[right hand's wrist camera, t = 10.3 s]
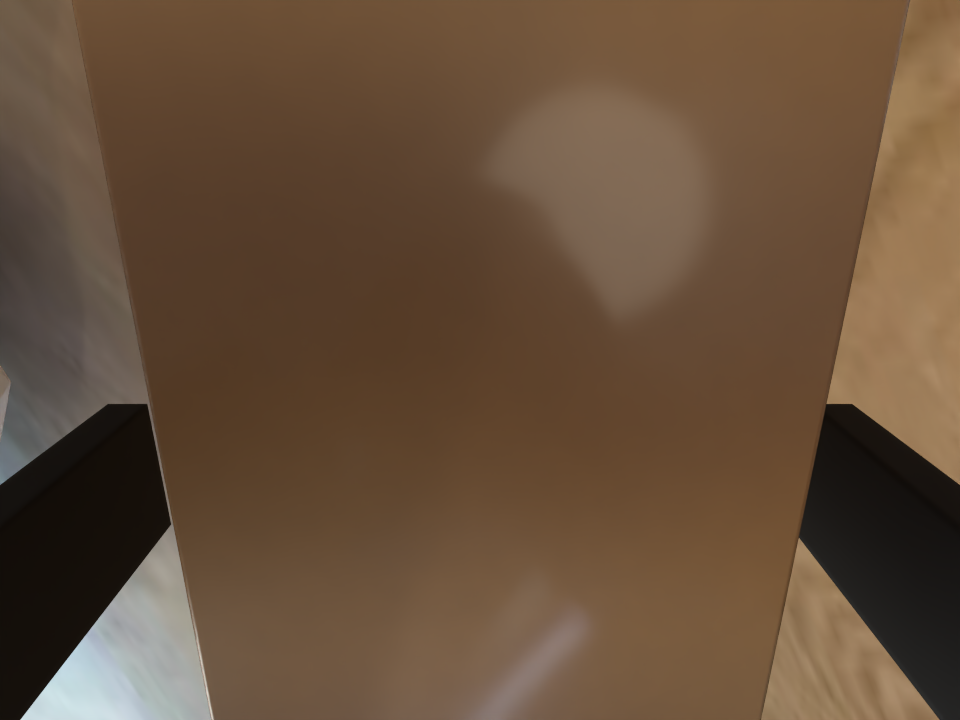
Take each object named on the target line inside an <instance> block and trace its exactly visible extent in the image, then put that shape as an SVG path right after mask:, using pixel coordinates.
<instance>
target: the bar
mask: <svg viewBox="0 0 960 720" xmlns="http://www.w3.org/2000/svg"><path fill="white" fill-rule="evenodd" d="M909 2H910V0H72V4H73V9H74V14H75V19H76V24H77V29H78V35H79V40H80V45H81V50H82V55H83V60H84V66H85V71H86V76H87V81H88V86H89V91H90V96H91V102H92V107H93V112H94V117H95V122H96V127H97V133H98V138H99V143H100V148H101V153H102V158H103V164H104V169H105V174H106V179H107V184H108V189H109V195H110V200H111V205H112V210H113V215H114V220H115V225H116V231H117V236H118V241H119V246H120V251H121V256H122V262H123V267H124V272H125V277H126V282H127V287H128V293H129V298H130V303H131V308H132V313H133V318H134V324H135V329H136V334H137V339H138V344H139V349H140V354H141V360H142V365H143V370H144V375H145V380H146V385H147V391H148V396H149V401H150V406H151V411H152V416H153V422H154V427H155V432H156V437H157V442H158V447H159V453H160V458H161V463H162V468H163V473H164V478H165V483H166V489H167V494H168V499H169V504H170V509H171V514H172V520H173V525H174V530H175V535H176V540H177V545H178V551H179V556H180V561H181V566H182V571H183V576H184V582H185V587H186V592H187V597H188V602H189V607H190V612H191V618H192V623H193V628H194V633H195V638H196V643H197V649H198V654H199V659H200V664H201V669H202V674H203V680H204V685H205V690H206V695H207V700H208V705H209V711H210V716H211V720H761V717H762V712H763V707H764V702H765V698H766V693H767V688H768V683H769V678H770V673H771V669H772V664H773V659H774V654H775V649H776V644H777V640H778V635H779V630H780V625H781V620H782V615H783V611H784V606H785V601H786V596H787V591H788V586H789V582H790V577H791V572H792V567H793V562H794V557H795V553H796V548H797V543H798V538H799V533H800V528H801V524H802V519H803V514H804V509H805V504H806V499H807V495H808V490H809V485H810V480H811V475H812V471H813V466H814V461H815V456H816V451H817V446H818V442H819V437H820V432H821V427H822V422H823V417H824V413H825V408H826V403H827V398H828V393H829V388H830V384H831V379H832V374H833V369H834V364H835V359H836V355H837V350H838V345H839V340H840V335H841V330H842V326H843V321H844V316H845V311H846V306H847V301H848V297H849V292H850V287H851V282H852V277H853V272H854V268H855V263H856V258H857V253H858V248H859V243H860V239H861V234H862V229H863V224H864V219H865V214H866V210H867V205H868V200H869V195H870V190H871V185H872V181H873V176H874V171H875V166H876V161H877V156H878V152H879V147H880V142H881V137H882V132H883V127H884V123H885V118H886V113H887V108H888V103H889V98H890V94H891V89H892V84H893V79H894V74H895V69H896V65H897V60H898V55H899V50H900V45H901V40H902V36H903V31H904V26H905V21H906V16H907V11H908V7H909Z"/></svg>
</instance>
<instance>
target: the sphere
mask: <svg viewBox="0 0 960 720" xmlns="http://www.w3.org/2000/svg"><path fill="white" fill-rule="evenodd" d="M10 385H11V381H10V379H9V378H8V376H7V375H6V373H5V372H4V370H3V369H2V367H1V366H0V440H1V435H2V429H3V424H4V418H5V413H6V407H7V401H8V396H9V390H10Z"/></svg>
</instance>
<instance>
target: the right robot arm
mask: <svg viewBox="0 0 960 720" xmlns="http://www.w3.org/2000/svg"><path fill="white" fill-rule="evenodd" d="M170 525H171V522H170V517H169V512H168V507H167V502H166V496H165V491H164V486H163V481H162V476H161V471H160V466H159V461H158V456H157V451H156V446H155V441H154V436H153V431H152V426H151V421H150V416H149V410H148V405H147V404H107V405H106V406H105V407H103V408H102V409H101V410H99V411H98V412H97V413H95V414H94V415H93V416H91V417H90V418H89V419H87V420H86V421H85V422H83V423H82V424H81V425H79V426H78V427H77V428H75V429H74V430H73V431H71V432H70V433H69V434H67V435H66V436H65V437H63V438H62V439H61V440H59V441H58V442H57V443H56V444H54V445H53V446H52V447H50V448H49V449H48V450H46V451H45V452H44V453H42V454H41V455H40V456H38V457H37V458H36V459H34V460H33V461H32V462H30V463H29V464H28V465H26V466H25V467H24V468H22V469H21V470H20V471H18V472H17V473H16V474H14V475H13V476H12V477H10V478H9V479H8V480H6V481H5V482H4V483H2V484H1V485H0V720H20V719H21V718H22V717H23V715H24V714H25V713H26V712H27V710H28V709H29V708H30V706H31V705H32V704H33V703H34V701H35V700H36V699H37V697H38V696H39V695H40V693H41V692H42V691H43V690H44V688H45V687H46V686H47V684H48V683H49V682H50V681H51V679H52V678H53V677H54V675H55V674H56V673H57V671H58V670H59V669H60V668H61V666H62V665H63V664H64V662H65V661H66V660H67V658H68V657H69V656H70V655H71V653H72V652H73V651H74V649H75V648H76V647H77V646H78V644H79V643H80V642H81V640H82V639H83V638H84V636H85V635H86V634H87V633H88V631H89V630H90V629H91V627H92V626H93V625H94V624H95V622H96V621H97V620H98V618H99V617H100V616H101V614H102V613H103V612H104V611H105V609H106V608H107V607H108V605H109V604H110V603H111V602H112V600H113V599H114V598H115V596H116V595H117V594H118V592H119V591H120V590H121V589H122V587H123V586H124V585H125V583H126V582H127V581H128V579H129V578H130V577H131V576H132V574H133V573H134V572H135V570H136V569H137V568H138V567H139V565H140V564H141V563H142V561H143V560H144V559H145V557H146V556H147V555H148V554H149V552H150V551H151V550H152V548H153V547H154V546H155V545H156V543H157V542H158V541H159V539H160V538H161V537H162V535H163V534H164V533H165V532H166V530H167V529H168V528H169V526H170ZM799 538H800V539H801V541H802V542H803V543H804V545H805V546H806V547H807V548H808V550H809V551H810V552H811V554H812V555H813V556H814V557H815V559H816V560H817V561H818V563H819V564H820V565H821V567H822V568H823V569H824V570H825V572H826V573H827V574H828V576H829V577H830V578H831V580H832V581H833V582H834V583H835V585H836V586H837V587H838V589H839V590H840V591H841V592H842V594H843V595H844V596H845V598H846V599H847V600H848V602H849V603H850V604H851V605H852V607H853V608H854V609H855V611H856V612H857V613H858V614H859V616H860V617H861V618H862V620H863V621H864V622H865V624H866V625H867V626H868V627H869V629H870V630H871V631H872V633H873V634H874V635H875V636H876V638H877V639H878V640H879V642H880V643H881V644H882V646H883V647H884V648H885V649H886V651H887V652H888V653H889V655H890V656H891V657H892V659H893V660H894V661H895V662H896V664H897V665H898V666H899V668H900V669H901V670H902V671H903V673H904V674H905V675H906V677H907V678H908V679H909V681H910V682H911V683H912V684H913V686H914V687H915V688H916V690H917V691H918V692H919V693H920V695H921V696H922V697H923V699H924V700H925V701H926V703H927V704H928V705H929V706H930V708H931V709H932V710H933V712H934V713H935V714H936V715H937V717H938V718H939V719H940V720H960V485H959V484H958V483H956V482H955V481H954V480H952V479H951V478H950V477H948V476H947V475H946V474H944V473H943V472H942V471H940V470H939V469H938V468H936V467H935V466H934V465H932V464H931V463H930V462H928V461H927V460H926V459H924V458H923V457H922V456H920V455H919V454H918V453H916V452H915V451H914V450H912V449H911V448H910V447H908V446H907V445H906V444H904V443H903V442H902V441H900V440H899V439H898V438H896V437H895V436H894V435H893V434H891V433H890V432H889V431H887V430H886V429H885V428H883V427H882V426H881V425H879V424H878V423H877V422H875V421H874V420H873V419H871V418H870V417H869V416H867V415H866V414H865V413H863V412H862V411H861V410H859V409H858V408H857V407H855V406H854V405H853V404H826V408H825V413H824V417H823V422H822V427H821V432H820V437H819V442H818V446H817V451H816V456H815V461H814V466H813V471H812V475H811V480H810V485H809V490H808V495H807V499H806V504H805V509H804V514H803V519H802V524H801V528H800V533H799Z"/></svg>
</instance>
